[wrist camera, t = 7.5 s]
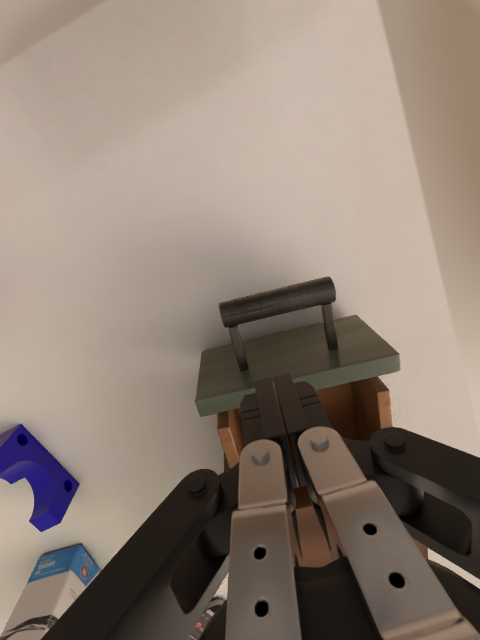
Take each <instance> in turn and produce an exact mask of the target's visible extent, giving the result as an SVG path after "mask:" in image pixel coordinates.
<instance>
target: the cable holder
mask: <svg viewBox="0 0 480 640" xmlns="http://www.w3.org/2000/svg"><path fill="white" fill-rule="evenodd" d="M24 477H25V478H26V479H27V480H28V482H29V483H30V485H31V487H32V490H33V493H34V509H33V513H32V516H31V518H30V520H29V522H30V523H32V524H33V525H34V526H35V527H36V528H37V529H38V530H39V531H40V532H43V531H45V530H47V529H49V528H51V527H53V526H55V525H57V524H59V523H61V521H62V519H63V517H64V515H65V513H66V511H67V509H68V507H69V505H70V503H71V501H72V499H73V497H74V495H75V493H76V490H77V488H78V486H79V483H78V482H77V481H76V480H75V479H74V478H73V477H72V476H71V475H70V474H69V473H68V472H67V471H66V470H65V469H64V468H63V467H62V465H61V464H60V463H59V462H58V461H57V460H56V459H55V458H54V457H53V456H52V455H51V454H50V453H49V452H48V451H47V450H46V449H45V448H44V447H43V446H42V445H41V444H40V443H39V442H38V441H37V440H36V439H35V438H34V437H33V436H32V435H31V434H30V433H29V432H28V431H27V430H26V429H25V428H24V427H23V426H22V425H21V424H20V425H18V426H16V427H14V428H12V429H10V430H8V431H6V432H5V433H3V434H1V435H0V478H1V479H4V480H6V481H8V482H9V483H10V484H13V483H15V482H16V481H18V480H20V479H22V478H24Z"/></svg>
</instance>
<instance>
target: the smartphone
mask: <svg viewBox="0 0 480 640" xmlns="http://www.w3.org/2000/svg"><path fill="white" fill-rule="evenodd" d="M223 603H224V601H223V600H222V599H215V600H213V601H211V602H210V603H209V604H208V606H207V608H206V609H205V611H204V613H203V614H202V616H201V618H200V619H199V621H198V623H197V624H196V626H195V628H194V629H193V631H192V632H191V634H190V636H189V637H188V639H187V640H199V638H200V636H201V634H202V633H203V631H204V629H205V627H206V625H207V624H208V622H209V620H210V619H211V618H212V616H213V615H214V613H215V612H216V611H217V609H218V608H219V607H220V606H221V605H222V604H223Z"/></svg>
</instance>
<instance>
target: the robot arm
mask: <svg viewBox="0 0 480 640" xmlns="http://www.w3.org/2000/svg"><path fill="white" fill-rule="evenodd" d="M272 377H273V381H274V385H275V389H276V394H277V398H278V402H279V406H280V409H279V406H278V402H277V398H276V394H275V390H274V387H273V383H272V379H271V377H266V378H262V379H258V380H254V384H255V390H256V393H252V394H247V395H244V397H243V399H242V401H241V403H240V409H241V420H242V434H243V446H244V449H243V450H242V452H241V454H240V458H239V462H238V463H237V464H236V465H235V466H234V467H232V468H231V469H229V470H227V471H226V472H224V473H222V474H220V475H217V473H215V472H214V471H212V470H209V469H200V470H196V471H194V472H191V473H190V474H188V475H187V476H186V477H184V478H183V479H182V480H181V482H180V483H179V484H178V485H177V486H176V487H175V488H174V490H173V491H172V492H171V493H170V494H169V495H168V496H167V497H166V499H165V500H164V501H163V502H162V503H161V504H160V505H159V506H158V508H157V509H156V510H155V511H154V512H153V513H152V514H151V515H150V517H149V518H148V519H147V520H146V521H145V522H144V523H143V524H142V526H141V527H140V528H139V529H138V530H137V531H136V532H135V533H134V535H133V536H132V537H131V538H130V539H129V540H128V541H127V542H126V544H125V545H124V546H123V547H122V548H121V549H120V550H119V551H118V553H117V554H116V555H115V556H114V557H113V558H112V559H111V560H110V562H109V563H108V564H107V565H106V566H105V567H104V568H103V570H102V571H101V572H100V573H99V574H98V575H97V576H96V577H95V579H94V580H93V581H92V582H91V583H90V584H89V585H88V586H87V588H86V589H85V590H84V591H83V592H82V593H81V594H80V595H79V597H78V598H77V599H76V600H75V601H74V602H73V603H72V604H71V606H70V607H69V608H68V609H67V610H66V611H65V612H64V613H63V615H62V616H61V617H60V618H59V619H58V620H57V621H56V622H55V624H54V625H53V626H52V627H51V628H50V629H49V630H48V631H47V633H46V634H45V635H44V636H43V637H42V638H41V639H40V640H187V639H188V637H189V636H190V634H191V632H192V631H193V629H194V628H195V626H196V624H197V623H198V621H199V619H200V618H201V616H202V614H203V613H204V611H205V609H206V608H207V606H208V604H209V603H210V601H211V599H212V598H213V596H214V595H215V593H216V591H217V590H218V588H219V586H220V585H221V583H222V581H223V580H224V578H225V576H226V575H227V573H228V571H229V575H228V594H227V600H226V601H225V602H224V603H223V604H222V605H221V606H220V607H219V608H218V609H217V611H216V612H215V613H214V615H213V616H212V618H211V619H210V620H209V622H208V624H207V625H206V627H205V629H204V631H203V633H202V634H201V636H200V638H199V640H480V589H479V588H477V587H476V586H474V585H473V584H471V583H470V582H468V581H467V580H465V579H464V578H462V577H461V576H459V575H458V574H456V573H455V572H453V571H451V570H450V569H448V568H446V567H444V566H442V565H440V564H438V563H436V562H433V561H431V560H428V559H425V558H424V556H423V555H422V553H421V552H420V550H419V549H418V547H417V545H416V544H415V542H414V541H413V539H415V540H416V541H418V542H420V543H421V544H423V545H425V546H426V547H428V548H429V549H431V550H433V551H434V552H436V553H438V554H439V555H441V556H443V557H444V558H446V559H447V560H449V561H451V562H452V563H454V564H456V565H457V566H459V567H460V568H462V569H464V570H465V571H467V572H469V573H470V574H472V575H474V576H475V577H477V578H478V579H480V458H479V457H476V456H474V455H471V454H468V453H466V452H463V451H460V450H458V449H455V448H452V447H450V446H447V445H445V444H442V443H439V442H437V441H434V440H431V439H429V438H426V437H423V436H421V435H418V434H415V433H413V432H410V431H408V430H405V429H402V428H397V427H387V428H382V429H379V430H377V431H376V432H374V433H373V434H372V436H371V438H370V441H360V440H351V439H347V438H344V437H342V436H340V435H339V433H338V432H337V431H335V430H334V429H333V428H332V426H331V424H330V421H329V419H328V417H327V415H326V413H325V411H324V409H323V406H322V404H321V403H320V400H319V398H318V396H317V394H316V391H315V389H314V387H313V386H312V385H310V384H309V383H307V382H306V381H302V382H298V383H293V380H292V378H291V375H290V373H289V372H287V373H283V374H279V375H274V376H272ZM280 410H281V413H280ZM281 414H282V417H281ZM282 418H283V421H282ZM283 422H284V425H283ZM284 426H285V429H286V432H285V429H284ZM286 433H287V436H286ZM287 437H288V440H287ZM288 441H289V445H290V448H291V452H292V456H293V460H294V463H295V467H296V471H297V475H298V478H299V482H300V486H301V487H302V486H306V485H307V488H308V492H309V495H310V500H311V504H312V508H313V511H314V513H315V516H316V519H317V521H318V524H319V527H320V529H321V532H322V535H323V537H324V540H325V543H326V545H327V548H328V551H329V553H330V556H331V559H332V562H331V563H329V564H327V565H325V566H323V567H305V564H304V557H303V550H302V543H301V537H300V530H299V523H298V516H297V510H296V498H295V494H294V490H293V488H298V487H299V486H298V482H297V478H296V474H295V469H294V465H293V461H292V457H291V453H290V449H289V445H288ZM412 538H413V539H412Z"/></svg>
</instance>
